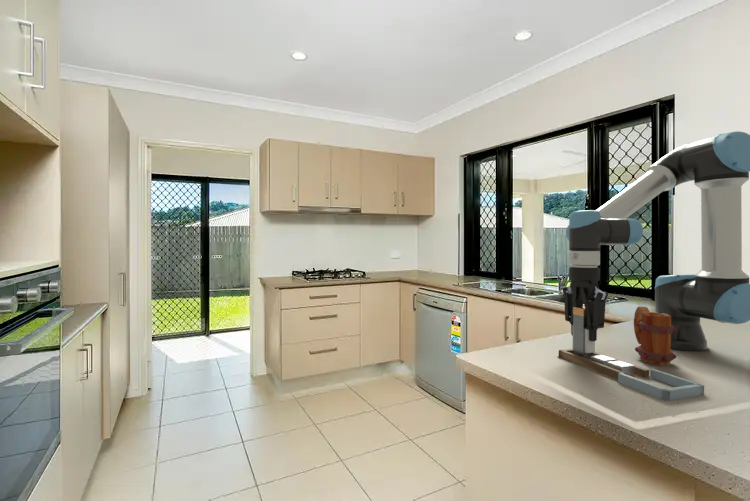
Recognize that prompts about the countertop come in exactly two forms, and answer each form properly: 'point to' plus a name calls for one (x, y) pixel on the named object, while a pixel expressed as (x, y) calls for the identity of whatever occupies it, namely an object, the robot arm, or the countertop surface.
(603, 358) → the chip
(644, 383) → the tray
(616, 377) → the slot board
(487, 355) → the countertop surface
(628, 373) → the chip
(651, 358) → the mug
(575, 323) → the grey and tan block
